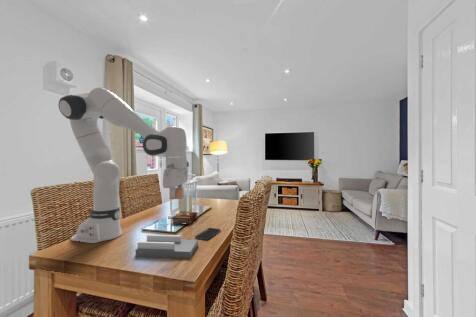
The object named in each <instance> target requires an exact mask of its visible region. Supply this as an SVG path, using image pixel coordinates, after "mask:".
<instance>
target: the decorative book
mask: <svg viewBox="0 0 476 317" xmlns="http://www.w3.org/2000/svg"><path fill="white" fill-rule="evenodd" d="M171 219H172V222H171V224H172V223H173V224H175V225H183V224H182V223H186V224H187V225H191V224H192V223H193V222H194V221H196V220H197V219H198V212H197V211H187V212H186V210H181V211H180V212H178V213H176V214H175V215H173V216H172V217H171ZM173 224H172V225H173ZM186 224H185V225H186Z"/></svg>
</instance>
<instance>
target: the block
mask: <svg viewBox="0 0 476 317" xmlns="http://www.w3.org/2000/svg"><path fill="white" fill-rule="evenodd" d="M184 190H185V189H184V187H182V188H177V187H175V193H176V197H171V193H170V192H169V200H182V199H183V198H184V197H185V196H184V194H185V193H184V192H185V191H184Z"/></svg>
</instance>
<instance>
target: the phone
mask: <svg viewBox="0 0 476 317" xmlns="http://www.w3.org/2000/svg"><path fill="white" fill-rule="evenodd" d="M221 230H222V229H221V228H215V227H213V228H212V227H208V228H206V229H205V230H203V231H202V232H200V233H198V234H197V235H195V236H194V240H200V241H205V242H207V241H210V240H211V239H212V238H214V237H215V236H217V234H220V232H221Z"/></svg>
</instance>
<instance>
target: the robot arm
mask: <svg viewBox="0 0 476 317" xmlns="http://www.w3.org/2000/svg"><path fill="white" fill-rule="evenodd" d="M58 109H59V112H60V113H61V115H62V116H63V117H64V118H66V119H67V120H69V123H70V126H71V130H72V134H73V135H74V137H75V140H76V142H77V144H78V146H79V148H80V150H81V151H82V154H83V156H84V158H85V160H86V161H87V162H86V163H87V164H88V166H89V167H90V170H91V172H92V174H93V196H92V197H93V198H92V199H93V200H92V201H93V203H92V204H93V207H92V210H90V211H88V212H87V213H88V215H89V218H87V219H86V220H84V221H83V222H82V223H80V224H79V225H78V227H77V229H76V233H75V234H74V235H72V237H70V241H72V242H73V241H74V242H79V241H80V242H81V243H88V244H96V243H99V242H103V241H104V242H105V241H110V240H113V239H116V238H119V237H121V236H122V234H123V230H122V227H121V223H120V215H121V214H120V213H121V212H120V211H121V210H120V206H119V205H120V204H119V202H120V200H119V199H120V198H119V196H120V195H119V194H120V193H119V192H120V183H121V182H120V180H121V179H120V178H121V169H120V166H119V165H118V164H117V163H116V162H115V161H114V158H113V156H112V154H111V150H110V148H109V145H108V143H107V141H106V139H105V137H104V135H103V132H102V130H101V129H100V126H99V123H98V119H100V120H103V119H104V120H106V121H107V122H109V123H110V124H113V125H114V126H116V127H119V128H122V129H126V130H130V131H131V132H134V133H137V134H138V135H140V136H142V137H143V138H144V139H143V141H142V149H143V151H144V153H145V154H146V155H148V156H151V157H152V156H153V157H163V158H165V169H164V170H163V174H162V186H163V188H164V189H169V194H170V193H171V197H176V193H175V188H183V184H186V183H187V181H188V178H189V177H188V176H189V167H190V163H189V161H188V160H187V158H188V157H187V152H186V151H187V146H188V145H187V134H186V131H185V130H184V129H183V128H181V127H178V126H174V125H173V126H172V125H169V126H166V128H164V129H162V130H160V131H158V130H157V129H155V128H154V127H153V126H152V125H150V124H149V123H147V122H146V121H145V120H144V119H143V118H142V117H141V116H140V115H138V113H136V112H135V111H134V110H133V109H132V108H131V107H130V106H129V105H128V104H127V103H126V102H125V101H124V100H123V99H121V98H120V97H119V96H118V95H117V94H115V93H114V92H112V91H110V90H109V89H106V88H105V87H95V88H93V89H92V90H90V92H87V93H79V94H69V95H65V96H62V97H60V98H59V102H58ZM80 242H79V243H80Z"/></svg>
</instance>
